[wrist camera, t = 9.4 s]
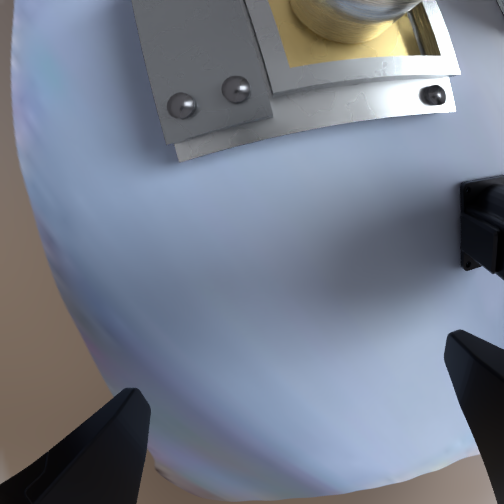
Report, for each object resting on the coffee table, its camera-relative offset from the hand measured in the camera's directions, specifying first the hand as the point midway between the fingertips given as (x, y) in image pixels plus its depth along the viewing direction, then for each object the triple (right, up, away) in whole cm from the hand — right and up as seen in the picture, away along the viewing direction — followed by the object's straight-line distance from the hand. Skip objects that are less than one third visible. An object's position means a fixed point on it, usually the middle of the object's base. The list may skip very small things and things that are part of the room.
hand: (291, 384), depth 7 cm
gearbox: (+1, +17, +6) cm, 18 cm away
